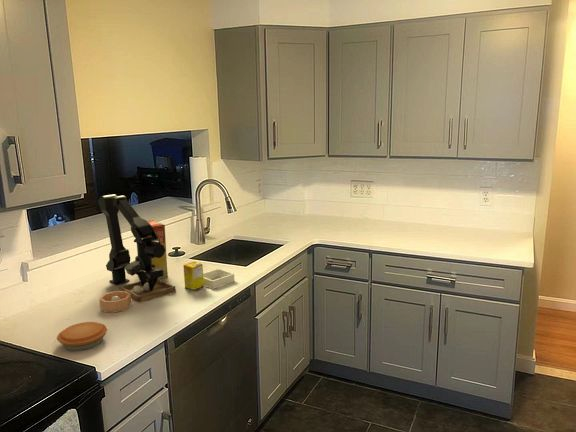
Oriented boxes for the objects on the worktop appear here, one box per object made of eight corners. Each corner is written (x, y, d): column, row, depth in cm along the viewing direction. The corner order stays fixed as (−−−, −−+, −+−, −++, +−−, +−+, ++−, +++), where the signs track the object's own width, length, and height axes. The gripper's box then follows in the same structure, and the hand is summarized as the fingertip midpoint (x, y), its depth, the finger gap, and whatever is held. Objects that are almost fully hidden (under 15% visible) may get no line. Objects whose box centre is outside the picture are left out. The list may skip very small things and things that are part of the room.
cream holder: (196, 282, 212) (196, 275, 212) (219, 275, 221) (218, 268, 221) (212, 289, 205) (212, 281, 204) (235, 281, 213) (234, 273, 213)
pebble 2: (131, 294, 198) (130, 285, 198) (139, 291, 201) (138, 283, 200) (135, 296, 196) (135, 288, 195) (143, 293, 199) (142, 285, 198)
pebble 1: (109, 305, 187) (108, 296, 187) (118, 302, 190) (117, 294, 189) (114, 306, 185) (112, 297, 184) (122, 303, 187) (121, 295, 187)
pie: (112, 330, 168) (111, 317, 167) (102, 351, 153) (101, 337, 152) (66, 333, 165) (64, 320, 164) (51, 356, 150) (49, 341, 149)
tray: (120, 292, 202) (119, 287, 202) (154, 282, 214) (153, 277, 213) (141, 303, 191) (140, 297, 190) (175, 291, 202) (175, 286, 201)
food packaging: (169, 276, 220) (165, 224, 215) (149, 281, 215) (145, 227, 209) (157, 269, 231) (153, 219, 225) (138, 273, 225) (134, 222, 219)
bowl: (96, 307, 187) (95, 296, 186) (122, 299, 195) (121, 288, 194) (109, 315, 180) (108, 304, 179) (136, 306, 188) (135, 295, 187)
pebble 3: (141, 290, 202) (141, 282, 201) (149, 288, 204) (148, 280, 204) (146, 293, 199) (145, 284, 199) (153, 290, 202) (153, 282, 201)
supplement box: (195, 284, 210) (193, 261, 208) (204, 287, 206) (202, 263, 204) (184, 288, 206) (182, 264, 203) (193, 291, 202) (192, 267, 199)
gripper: (115, 253, 199) (119, 288, 202) (138, 262, 186) (141, 300, 190) (139, 247, 207) (142, 281, 210) (163, 256, 194) (166, 292, 198)
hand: (147, 288), depth 202 cm, fingers open, 6 cm apart
